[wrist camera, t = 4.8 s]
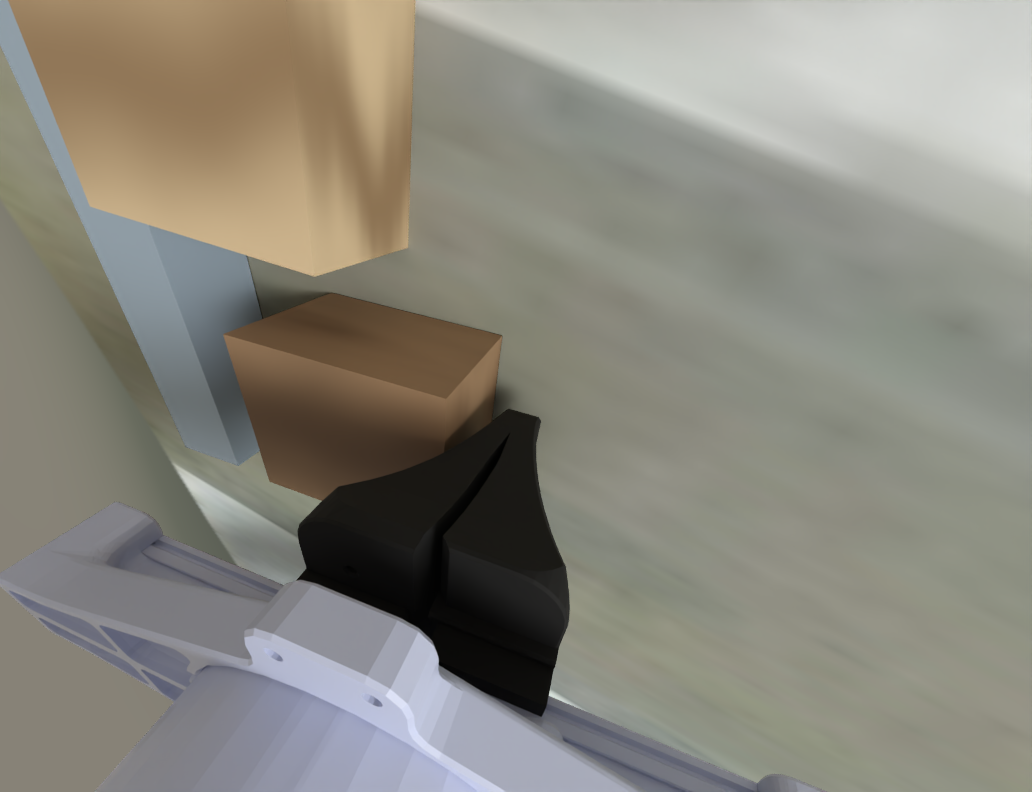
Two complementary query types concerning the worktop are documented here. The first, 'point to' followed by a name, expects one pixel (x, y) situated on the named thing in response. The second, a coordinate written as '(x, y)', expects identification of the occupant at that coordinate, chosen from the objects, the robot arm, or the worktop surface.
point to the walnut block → (359, 390)
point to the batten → (163, 292)
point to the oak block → (238, 118)
